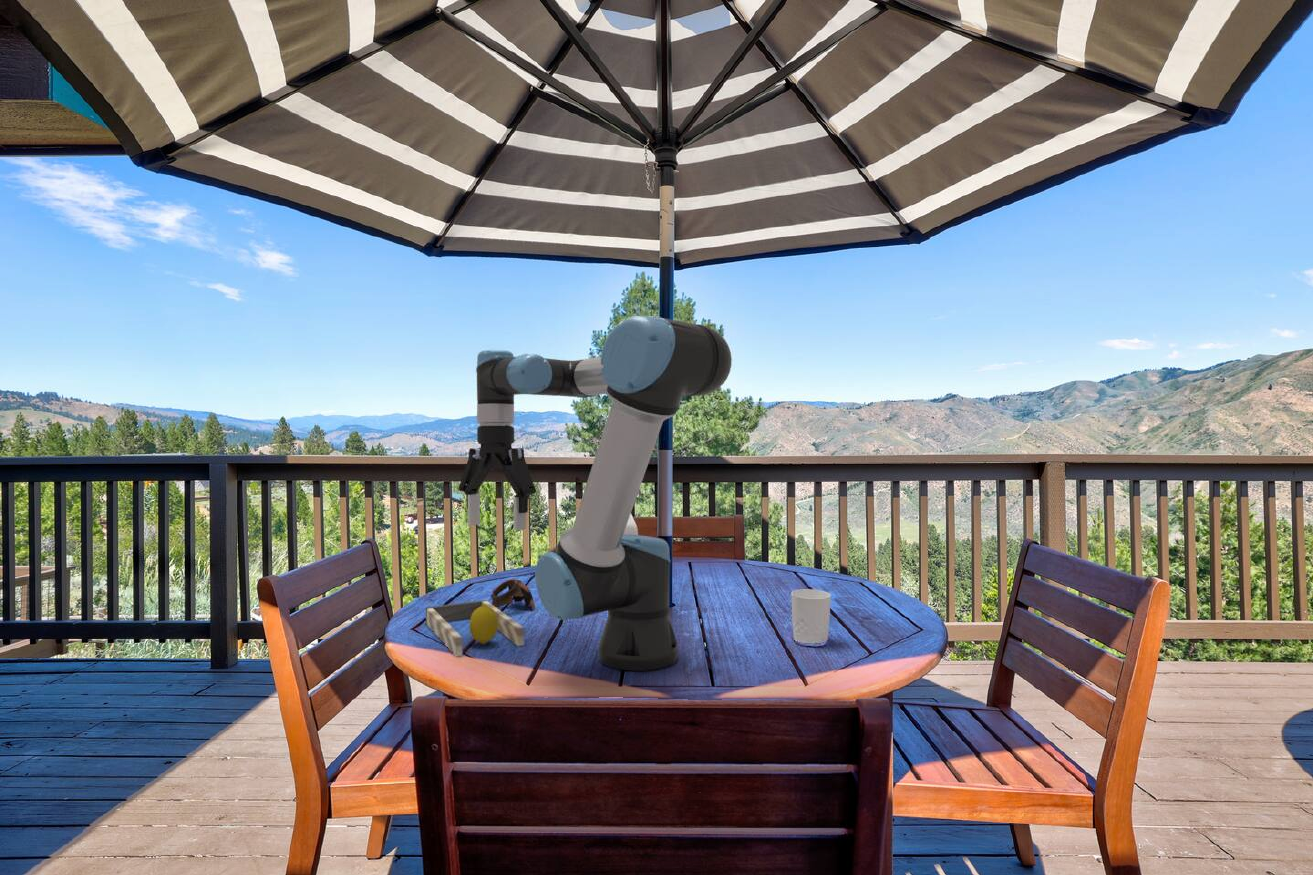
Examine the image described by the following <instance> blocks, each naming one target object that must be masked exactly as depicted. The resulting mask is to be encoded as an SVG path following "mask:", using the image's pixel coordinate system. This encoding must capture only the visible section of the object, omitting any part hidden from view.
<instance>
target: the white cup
mask: <svg viewBox="0 0 1313 875" xmlns="http://www.w3.org/2000/svg"><path fill="white" fill-rule="evenodd" d="M790 597H791V598H790V599H791V621H792V629H793V631H792V633H793V638H794V640H795V641H798V642H802V643H812V644H814V643H822V642H825V641H827V640H829V639H828V638H829V628H830V617H831V599H832V598H831V597H832V596H831V593H829V592H827V591H824V590H819V589H808V588H805V589H804V588H803V589H796V590H792V591H791V593H790ZM793 638H792V639H793ZM794 640H793V641H794Z"/></svg>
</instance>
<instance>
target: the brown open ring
mask: <svg viewBox="0 0 1313 875" xmlns="http://www.w3.org/2000/svg"><path fill="white" fill-rule="evenodd" d="M506 589H508V590H507V591H506V592H504V593H502V592H503V591H504V590H506ZM500 593H502V594H500ZM490 598H491V600H492V601H491V604H492V605H493V606H495V607H496V608H500V607H503V606H505V605H513V604H514V603H521V602H523V601H524V605H525V606H526V607H527V606H530V609H531V611H532V612H534V611H535V609H536V606H535V602H534V601H535V600H534V596H533V594H532V592H531V589H529V587H528V586H527V585H526V584H524V583H523V582H522V581H521V580H519V579H517V578H511V579H507V580H505V581H503V582H502V583H500V584H499V585H498V586H496V587H495V589H493V590H492V593H491V595H490ZM513 601H514V603H513Z"/></svg>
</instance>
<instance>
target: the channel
mask: <svg viewBox="0 0 1313 875" xmlns="http://www.w3.org/2000/svg"><path fill="white" fill-rule="evenodd" d="M482 605H486V606H488V607H491V608H492V609H493V610H494V611H495V612H496V615H497V618H498V629H497V631H499V632H500V633H501V634H502V635H503V636H505V637H506V638H507V639H508V640H510V641H511V642H512V643H513V644H514V645H516V646H517V647H522V646H524V642H525V639H524V637H525V634H524V633H525V627H523V626H522V625H520V624H519V623H518V622H517V621H516V620H514V619H513V618H512V617H510V616H508V615H507V614H505V613H504V612H503V611H501V610H500V609H499V608H498V607H495V606H493V605H492V602H491V603H490V602H489V601H488V600H486V599H483V600H475V601H474V600H473V601H467V602H466V601H465V602H459V603H458V602H457V603H451V604H445V605H444V604H443V605H435V606H426V607H425V624H426V625H427V626H428V628H429V629H430V630H431V631H432V632H433V631H434V632H433V633H434V634H435V635H436V637H437V638H438V637H439V638H440V639H439V638H438V639H439V640H440V641H441V642H442V641H443V642H444V643H445V644H444V643H443V642H442V643H443V644H444V645H445V647H446V648H447V647H448V648H449V649H448V648H447V649H448V650H449V651H450V653H452V652H453V653H452V655H454V657H455V658H457V656H458V657H462V656H463V636H461V635H460V634H459V632H458V631H457V630H456V629H454V627H452V625H450V624H449V623H448V622H455V621H463V620H464V621H465V620H469V619H471V615H472V613H473V612H474V611H475V610H476V609H477V608H479V607H481V606H482Z"/></svg>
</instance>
